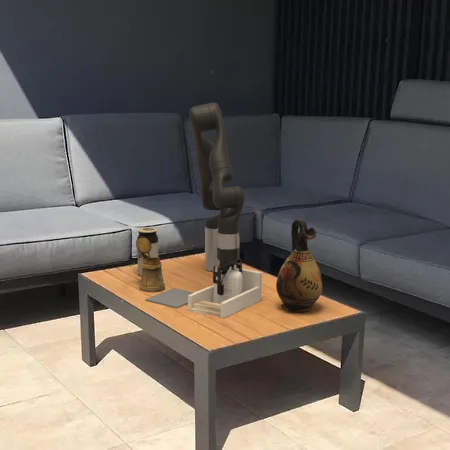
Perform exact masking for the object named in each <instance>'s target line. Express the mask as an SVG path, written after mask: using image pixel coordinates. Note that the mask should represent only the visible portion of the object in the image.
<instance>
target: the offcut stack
mask: <svg viewBox="0 0 450 450" xmlns="http://www.w3.org/2000/svg"><path fill="white" fill-rule="evenodd" d="M191 313H195V314H196V313H197V314H201V315H206V316H211V317H212V316H213V317H217V318H218V317H219V318H221V304H218V303H214V302H213V301H211V302H206V301H199V302H197V303H195V304H194V308H192V310H191Z"/></svg>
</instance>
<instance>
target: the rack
mask: <svg viewBox="0 0 450 450" xmlns="http://www.w3.org/2000/svg"><path fill="white" fill-rule="evenodd" d="M238 271H239V269H238ZM242 275H243V287H242V293H241V294H239V295H237V296H235V297H233V298H230V299H228V300H226V301H224V302H222V303H221V317H220V318H221V319H225V318H227V317H229V316H231V315H233V314H235V313H238V312H240V311H242V310H244V309H246V308H247V307H250V306H252V305H254V304H257V303H258V302H260V301H262V281H263V280H262V276H263V274H262V271H256V270H251V269H247V268H242ZM213 295H214V284H212V285H210V286H207V287H205V288H202V289H200V290H198V291H195V292H194V293H193V294H190V295H188V304H187V310H188V311H192V308H194V304H195V303H197V302H199V301H206V302H213Z"/></svg>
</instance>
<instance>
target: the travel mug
mask: <svg viewBox="0 0 450 450" xmlns="http://www.w3.org/2000/svg"><path fill="white" fill-rule="evenodd" d="M157 231H158V228H155V227H140V228H138V229H137V232H138V236H137V238H136V240H137V239H138V238H139V237H140V236H143V237H145V238H147V239H148V240H149V241H150V243H151V246H152V249H151V251H150V252H149V254H150V258H155V257H156V258H159V237H158V234H157ZM136 249H137V248H136ZM145 253H146V252H145ZM142 263H143V255H142V253H141V252H139V251H138V249H137V275H138V276H140V277H142V269H143V268H142Z"/></svg>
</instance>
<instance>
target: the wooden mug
mask: <svg viewBox="0 0 450 450" xmlns="http://www.w3.org/2000/svg"><path fill="white" fill-rule="evenodd" d="M135 246H136V249H138V250H137V252H138V251H139V252H141V253H142V255H143V263H142V268H143V269H142V276H141V280H140V283H139V289H140V290H141V291H142V292H147V293H148V292H149V293H156V292H161V291H162V292H163V291H164V290H165V289H166V286H165V285H166V284H165V282H164V276H163V269H162V261H161V258H160V257H158V258H156V257H155V258H150V254H149V252H150V251H151V249H152V246H151V243H150V241H149V240H148V239H147V238H145V237H143V236H140V237H139V238H138V239H137V238H136V241H135ZM145 252H146V253H145Z"/></svg>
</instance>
